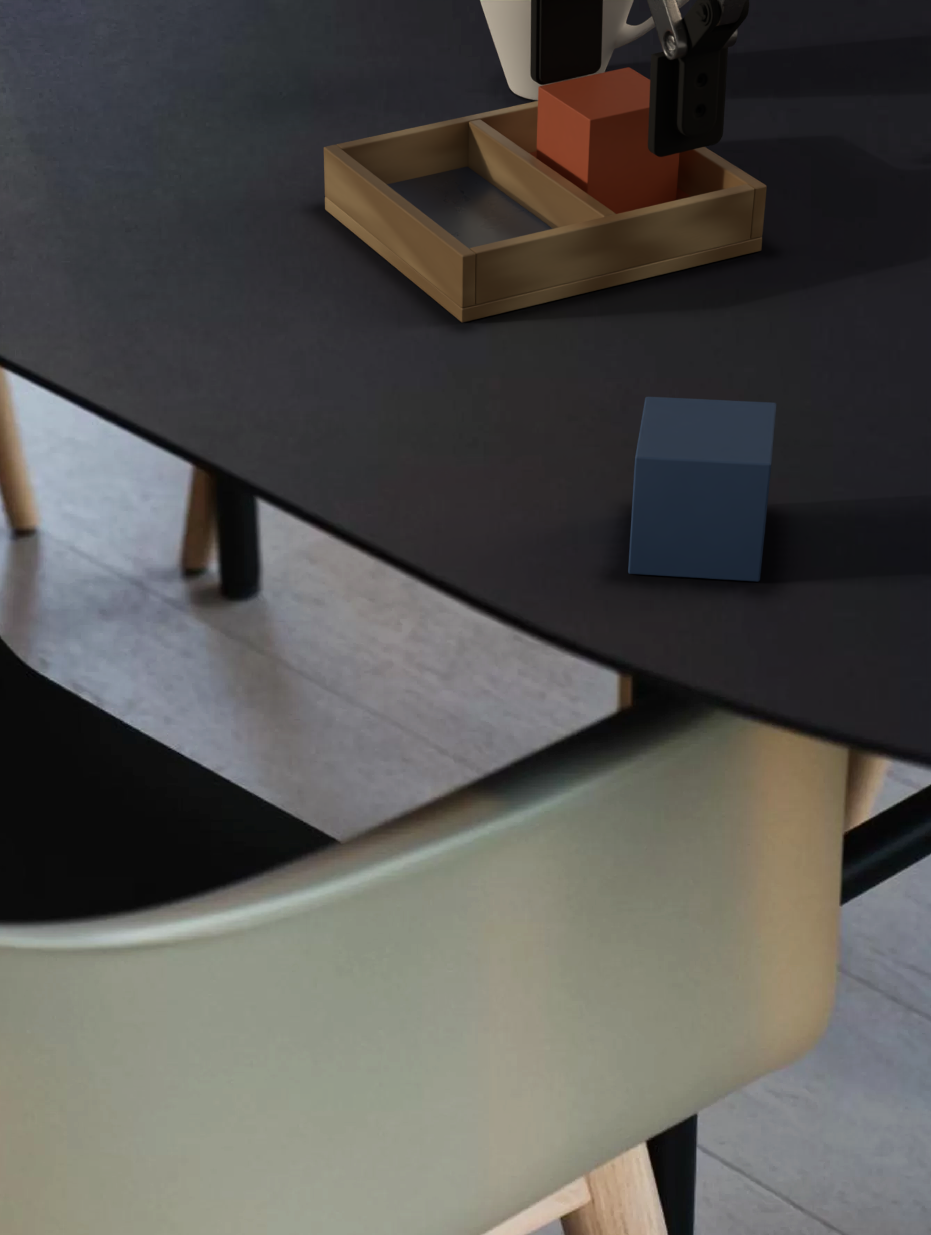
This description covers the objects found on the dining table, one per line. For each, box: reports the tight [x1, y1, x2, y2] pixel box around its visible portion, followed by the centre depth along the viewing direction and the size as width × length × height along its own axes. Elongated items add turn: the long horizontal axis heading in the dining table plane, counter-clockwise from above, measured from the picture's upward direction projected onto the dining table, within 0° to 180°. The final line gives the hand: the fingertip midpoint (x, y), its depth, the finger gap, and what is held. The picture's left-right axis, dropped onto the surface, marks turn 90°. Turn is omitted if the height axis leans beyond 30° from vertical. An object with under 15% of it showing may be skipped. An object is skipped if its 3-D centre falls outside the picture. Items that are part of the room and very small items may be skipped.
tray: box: [323, 100, 768, 323], centre depth 106 cm, size 14×13×3 cm
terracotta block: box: [536, 66, 679, 214], centre depth 106 cm, size 4×4×4 cm
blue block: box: [627, 396, 777, 583], centre depth 85 cm, size 4×4×4 cm
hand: (623, 111), depth 104 cm, fingers open, 9 cm apart
